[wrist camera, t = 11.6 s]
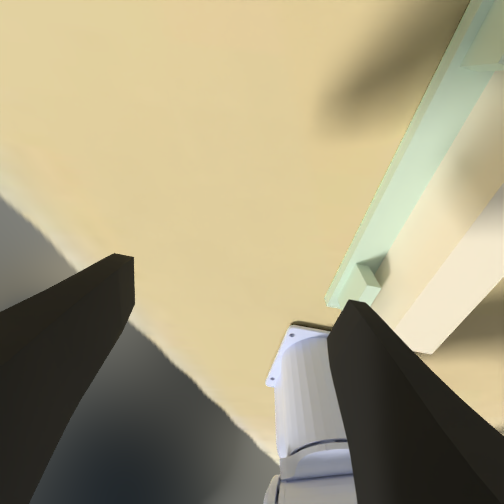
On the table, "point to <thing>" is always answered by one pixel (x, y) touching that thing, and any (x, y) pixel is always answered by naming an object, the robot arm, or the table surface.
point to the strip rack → (423, 147)
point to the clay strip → (450, 234)
